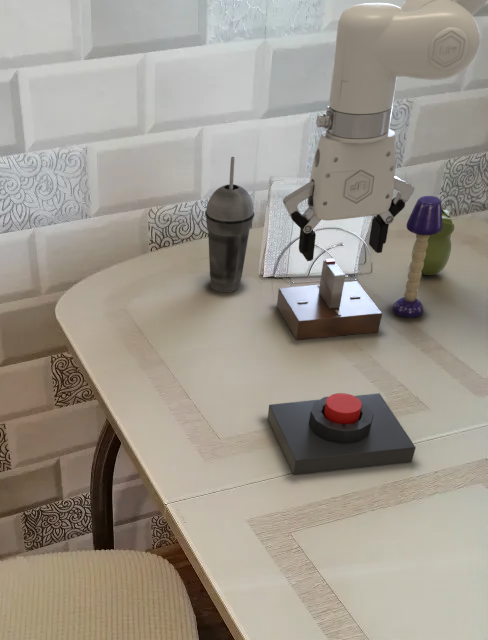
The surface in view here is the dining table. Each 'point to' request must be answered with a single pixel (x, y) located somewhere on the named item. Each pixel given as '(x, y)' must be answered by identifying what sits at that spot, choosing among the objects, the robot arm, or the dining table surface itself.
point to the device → (339, 436)
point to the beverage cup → (228, 233)
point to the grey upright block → (331, 283)
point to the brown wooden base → (328, 312)
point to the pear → (438, 247)
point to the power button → (342, 408)
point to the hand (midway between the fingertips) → (341, 252)
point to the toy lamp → (419, 251)
